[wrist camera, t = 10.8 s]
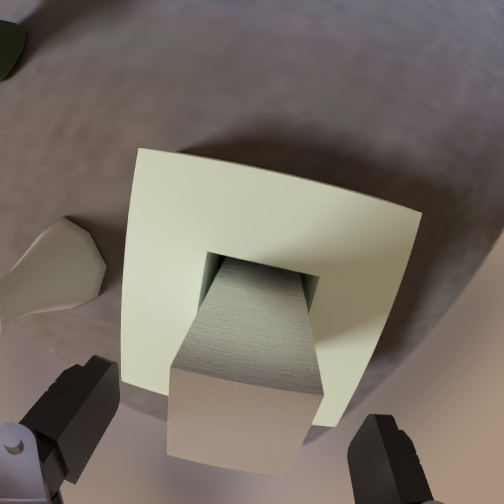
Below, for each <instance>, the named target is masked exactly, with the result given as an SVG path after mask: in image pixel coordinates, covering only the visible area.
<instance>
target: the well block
mask: <svg viewBox="0 0 504 504" xmlns="http://www.w3.org/2000/svg"><path fill="white" fill-rule="evenodd" d="M421 216H422V213H421V212H418V211H415V210H413V209H410V208H407V207H404V206H401V205H399V204H396V203H393V202H390V201H387V200H384V199H381V198H378V197H374V196H371V195H367V194H364V193H360V192H357V191H353V190H350V189H346V188H342V187H339V186H335V185H331V184H327V183H323V182H320V181H316V180H312V179H308V178H303V177H299V176H295V175H291V174H287V173H282V172H278V171H273V170H269V169H264V168H260V167H255V166H250V165H245V164H240V163H235V162H230V161H225V160H220V159H215V158H209V157H203V156H198V155H192V154H186V153H180V152H173V151H164V150H154V149H144V148H139V150H138V155H137V161H136V167H135V173H134V180H133V186H132V193H131V201H130V208H129V217H128V225H127V235H126V245H125V257H124V270H123V286H122V310H121V376H122V381H124V382H126V383H129V384H132V385H135V386H138V387H141V388H144V389H148V390H151V391H154V392H157V393H161V394H164V395H167V396H169V377H170V366H171V364H172V362H173V360H174V358H175V356H176V354H177V352H178V350H179V348H180V346H181V344H182V342H183V340H184V338H185V336H186V334H187V332H188V330H189V328H190V326H191V324H192V322H193V320H194V318H195V316H196V314H197V312H198V310H199V308H200V307H201V305H202V303H203V301H204V299H205V297H206V295H207V293H208V291H209V289H210V287H211V285H212V283H213V281H214V279H215V277H216V275H217V271H218V265H219V260H220V255H225V256H230V257H234V258H239V259H243V260H248V261H252V262H256V263H261V264H265V265H270V266H274V267H279V268H283V269H288V270H292V271H297V272H300V278H301V282H302V287H303V291H304V296H305V301H306V305H307V310H308V315H309V320H310V324H311V329H312V334H313V339H314V344H315V349H316V354H317V359H318V365H319V370H320V375H321V380H322V386H323V391H324V397H323V400H322V402H321V404H320V406H319V409H318V411H317V413H316V415H315V418H314V420H313V422H312V424H311V425H320V426H330V427H336V425H337V423H338V422H339V420H340V418H341V416H342V414H343V412H344V411H345V409H346V407H347V405H348V403H349V401H350V399H351V397H352V395H353V393H354V391H355V389H356V387H357V385H358V383H359V381H360V379H361V377H362V375H363V373H364V371H365V369H366V367H367V364H368V362H369V360H370V358H371V356H372V353H373V351H374V349H375V347H376V344H377V342H378V340H379V337H380V335H381V333H382V330H383V328H384V325H385V323H386V320H387V318H388V315H389V313H390V310H391V308H392V305H393V303H394V300H395V297H396V295H397V292H398V289H399V286H400V283H401V281H402V278H403V275H404V272H405V269H406V266H407V263H408V260H409V257H410V254H411V250H412V247H413V244H414V241H415V237H416V234H417V230H418V227H419V223H420V220H421Z"/></svg>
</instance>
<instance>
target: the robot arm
mask: <svg viewBox="0 0 504 504" xmlns="http://www.w3.org/2000/svg"><path fill="white" fill-rule="evenodd" d="M119 401H120V390H119V371H118V364H117V362H114V361H111V360H109V359H106V358H103V357H100V356H98V355H94V356H92V357H91V358H90V360H89V361H88V362H87V363H86V364H85V366H84V367H83V366H80V365H78V364H76V365H74V366H72V367H70V368H68V369H67V370H64V371H63V372H62V373H61V375H60V376H59V377H58V378H57V379H56V380H55V383H53V384H52V385H51V386H50V387H49V388H48V391H46V392H45V393H44V394H43V395H42V396H41V397H40V399H39V400H38V401H37V402H36V403H35V405H34V406H33V407H32V408H31V409H30V410H29V412H28V413H27V414H26V415H25V417H24V418H23V419H22V420H21V421H20V422H19V423H5V424H2V425H0V504H64V503H63V499H62V495H61V492H60V489H59V488H60V486H61V484H62V482H63V481H64V479H65V480H67V481H69V482H71V483H73V484H76V482H77V481H78V479H79V477H80V475H81V473H82V471H83V470H84V468H85V466H86V464H87V463H88V460H89V459H90V457H91V455H92V454H93V452H94V450H95V448H96V446H97V445H98V443H99V441H100V439H101V438H102V436H103V434H104V432H105V431H106V429H107V427H108V425H109V424H110V422H111V420H112V418H113V417H114V415H115V413H116V411H117V409H118V405H119ZM347 459H348V465H349V471H350V476H351V481H352V488H353V493H354V499H355V504H444V503H442V502H439V501H434V499H433V497H432V494H431V491H430V488H429V485H428V482H427V480H426V477H425V474H424V471H423V469H422V466H421V464H420V460H419V458H418V455H416V450H415V447H414V445H413V442H412V440H411V439H410V438H409V437H408V436H407V434H406V433H405V432H404V431H403V430H398V427H397V425H396V422H395V419H394V417H393V416H392V415H381V414H369V415H368V416H367V417H366V419H365V421H364V422H363V424H362V425H361V427H360V429H359V430H358V432H357V433H356V435H355V436H354V438H353V440H352V441H351V443H350V445H349V448H348V453H347Z"/></svg>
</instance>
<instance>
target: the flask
mask: <svg viewBox="0 0 504 504" xmlns="http://www.w3.org/2000/svg"><path fill="white" fill-rule="evenodd" d="M106 268H107V266H106V264H105V262H104V261H103V259H102V257H101V255H100V253H99V251H98V249H97V247H96V245H95V243H94V241H93V239H92V237H91V235H90V233H89V232H87V231H85V230H84V229H82V228H80V227H79V226H77V225H76V224H74V223H72V222H71V221H69V220H67V219H66V218H64V217H62V218H60V219H59V220H58V221H56V222H55V223H54V224H52V225H51V226H50V227H49V228H47V229H46V230H45V231H43V232H42V233H41V234H40V235H39V237H38V238H37V239H36V240H35V241H34V243H33V244H32V245H31V246H30V248H29V249H28V250H27V251H26V253H25V254H24V255H23V256H22V257H21V259H20V260H19V261H18V262H17V263H16V265H15V266H14V267H13V268H12V269H11V271H10V272H9V273H8V274H7V275H5V276H4V277H3V278H2V279H1V280H0V335H1V334H2V333H4V332H5V330H6V325H7V324H8V323H9V322H11V321H12V320H14V319H17V318H19V317H22V316H24V315H27V314H31V313H38V312H44V311H51V310H61V309H70V308H76V307H78V306H80V305H82V304H84V303H86V302H88V301H90V300H92V299H94V298H96V297H98V293H99V290H100V287H101V283H102V280H103V277H104V274H105V271H106Z"/></svg>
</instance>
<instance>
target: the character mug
mask: <svg viewBox="0 0 504 504" xmlns="http://www.w3.org/2000/svg"><path fill="white" fill-rule="evenodd" d="M25 38H26V33H25V29H24V27H23V26H19V25H16V23H12V22H8V21H3V20H0V81H2V80H3V79H4V78H5V77H6V76H7V75H8V73H9V72H10V70H11V69H12V67H13V66H14V64H15V63H16V61H17V59H18V57H19V56H20V54H21V52H22V50H23V49H24V44H25Z"/></svg>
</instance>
